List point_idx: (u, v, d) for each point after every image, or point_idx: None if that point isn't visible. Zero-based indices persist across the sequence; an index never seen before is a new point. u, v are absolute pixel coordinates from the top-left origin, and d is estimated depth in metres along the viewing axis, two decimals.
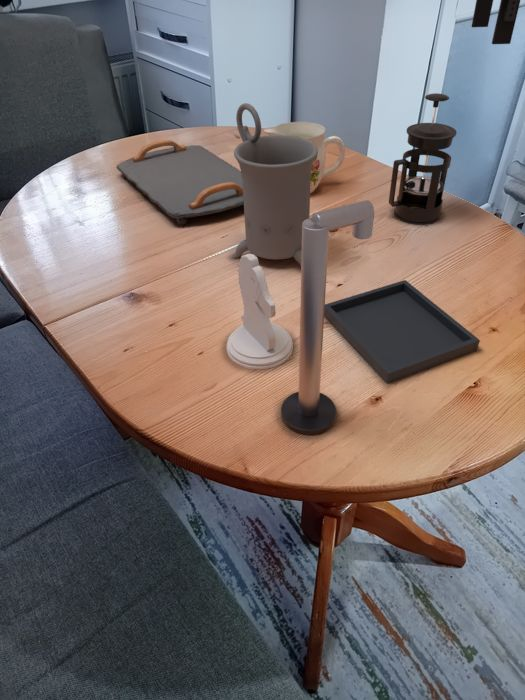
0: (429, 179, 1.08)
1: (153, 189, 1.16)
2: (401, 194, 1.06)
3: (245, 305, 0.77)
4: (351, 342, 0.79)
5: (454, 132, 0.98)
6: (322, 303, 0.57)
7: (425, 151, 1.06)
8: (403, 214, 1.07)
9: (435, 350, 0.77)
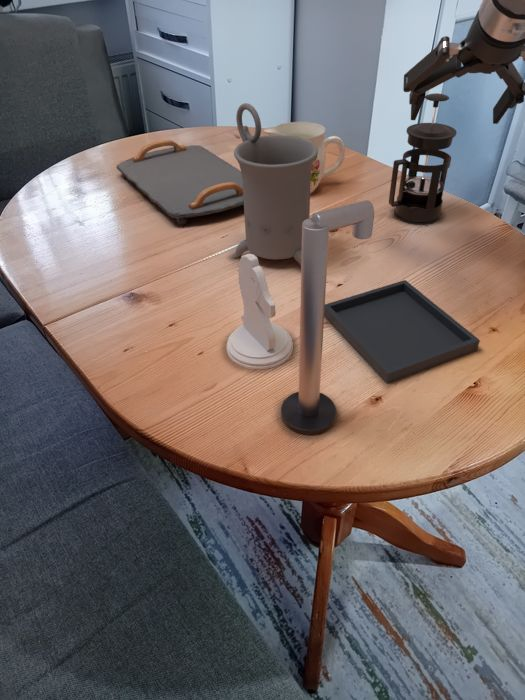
0: (429, 179, 1.08)
1: (153, 189, 1.16)
2: (401, 194, 1.06)
3: (245, 305, 0.77)
4: (351, 342, 0.79)
5: (454, 132, 0.98)
6: (322, 303, 0.57)
7: (425, 151, 1.06)
8: (403, 214, 1.07)
9: (435, 350, 0.77)
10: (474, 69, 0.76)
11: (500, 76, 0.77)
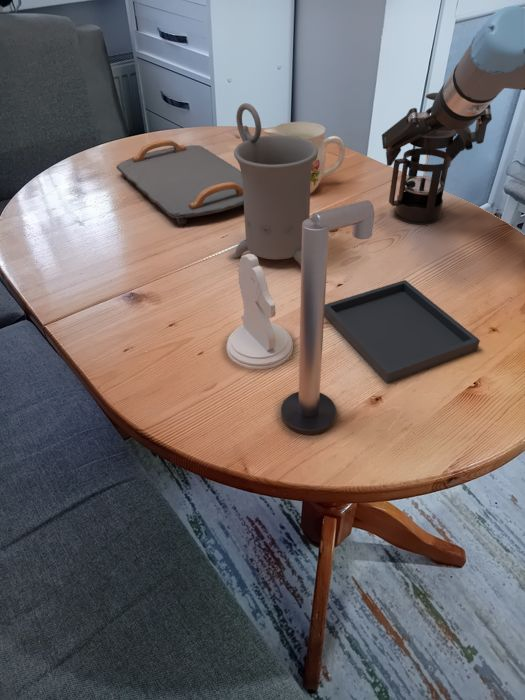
0: (429, 179, 1.08)
1: (153, 189, 1.16)
2: (401, 193, 1.06)
3: (245, 305, 0.77)
4: (351, 342, 0.79)
5: (455, 131, 0.98)
6: (322, 303, 0.57)
7: (425, 151, 1.06)
8: (403, 213, 1.07)
9: (435, 350, 0.77)
10: (439, 130, 0.90)
11: (458, 133, 0.92)
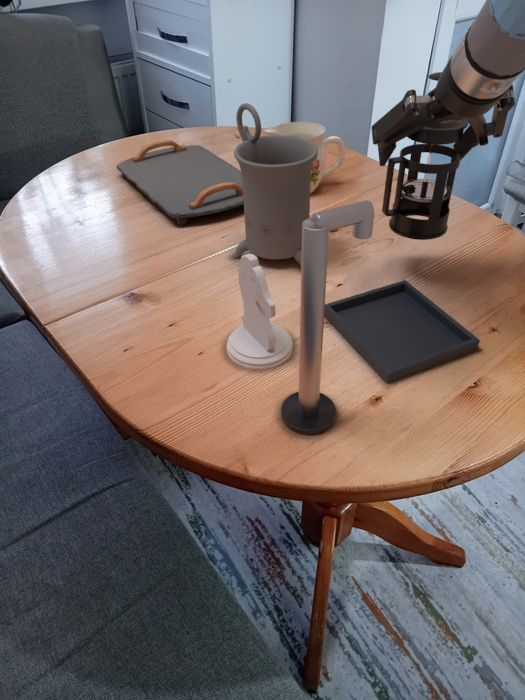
0: (433, 182, 0.87)
1: (153, 189, 1.16)
2: (398, 201, 0.84)
3: (245, 305, 0.77)
4: (351, 342, 0.79)
5: (465, 122, 0.77)
6: (322, 303, 0.57)
7: (428, 147, 0.85)
8: (400, 226, 0.86)
9: (435, 350, 0.77)
10: (446, 119, 0.69)
11: (470, 123, 0.71)
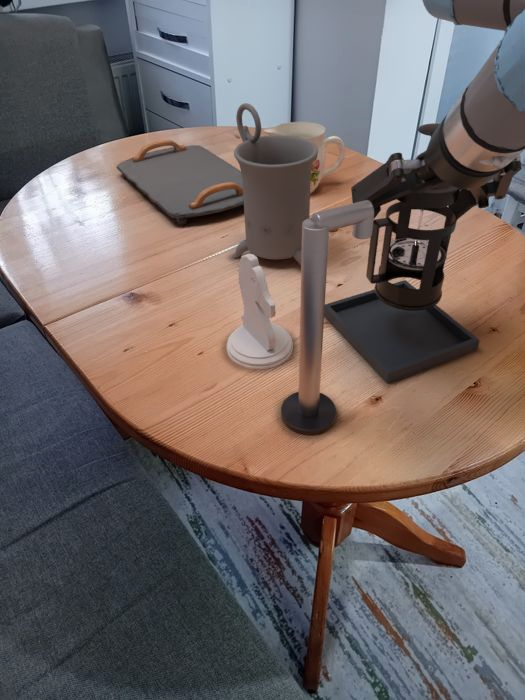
0: (425, 243, 0.75)
1: (153, 189, 1.16)
2: (384, 266, 0.73)
3: (245, 305, 0.77)
4: (351, 342, 0.79)
5: None
6: (322, 303, 0.57)
7: None
8: (387, 294, 0.74)
9: (435, 350, 0.77)
10: (438, 186, 0.57)
11: (468, 188, 0.59)
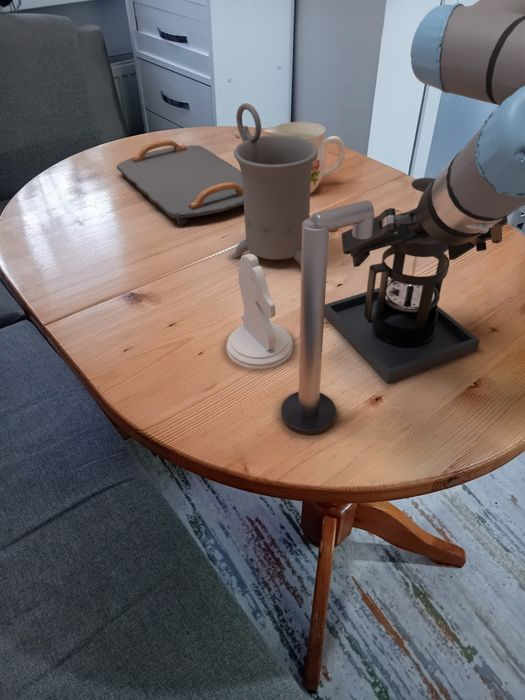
0: None
1: (153, 189, 1.16)
2: (381, 307, 0.77)
3: (245, 305, 0.77)
4: (351, 342, 0.79)
5: None
6: (322, 303, 0.57)
7: None
8: (384, 332, 0.78)
9: (435, 350, 0.77)
10: (428, 239, 0.61)
11: None
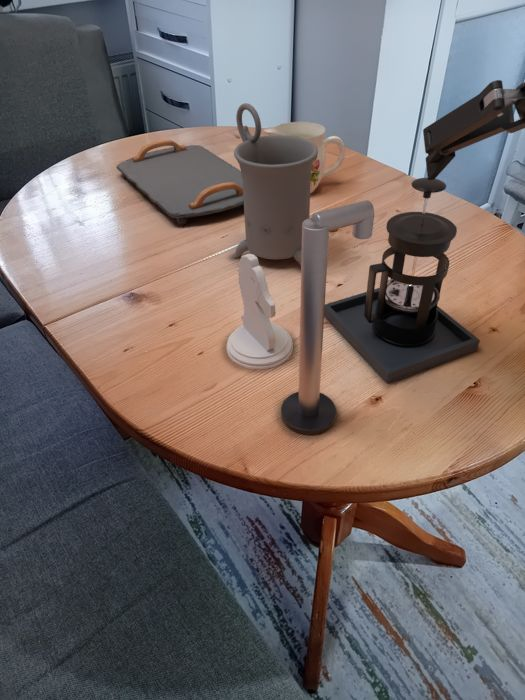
0: None
1: (153, 189, 1.16)
2: (381, 307, 0.77)
3: (245, 305, 0.77)
4: (351, 342, 0.79)
5: (453, 230, 0.69)
6: (322, 303, 0.57)
7: None
8: (384, 332, 0.78)
9: (435, 350, 0.77)
10: None
11: None
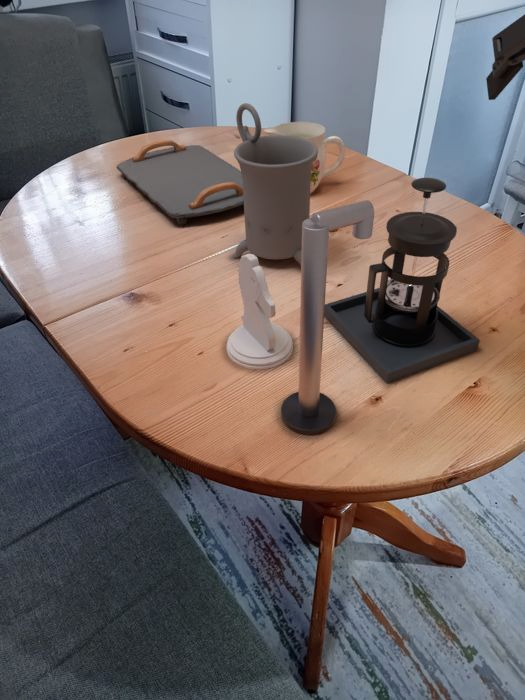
0: None
1: (153, 189, 1.16)
2: (381, 307, 0.77)
3: (245, 305, 0.77)
4: (351, 342, 0.79)
5: (453, 230, 0.69)
6: (322, 303, 0.57)
7: None
8: (384, 332, 0.78)
9: (435, 350, 0.77)
10: None
11: None
